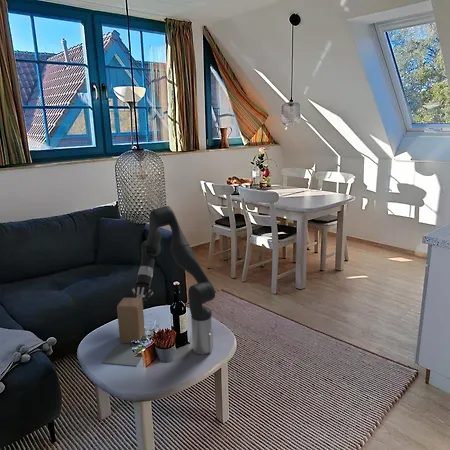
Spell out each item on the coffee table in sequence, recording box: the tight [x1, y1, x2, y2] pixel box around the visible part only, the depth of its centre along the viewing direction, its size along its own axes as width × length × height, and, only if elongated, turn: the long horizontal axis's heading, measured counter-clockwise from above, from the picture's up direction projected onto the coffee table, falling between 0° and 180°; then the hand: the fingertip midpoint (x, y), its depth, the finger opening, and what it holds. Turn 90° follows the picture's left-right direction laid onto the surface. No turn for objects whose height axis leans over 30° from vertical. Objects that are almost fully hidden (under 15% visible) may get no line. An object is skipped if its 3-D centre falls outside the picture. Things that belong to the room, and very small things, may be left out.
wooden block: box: [116, 297, 146, 344], centre depth 193 cm, size 10×10×20 cm
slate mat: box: [101, 344, 142, 367], centre depth 183 cm, size 16×14×1 cm
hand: (138, 308), depth 201 cm, fingers closed
